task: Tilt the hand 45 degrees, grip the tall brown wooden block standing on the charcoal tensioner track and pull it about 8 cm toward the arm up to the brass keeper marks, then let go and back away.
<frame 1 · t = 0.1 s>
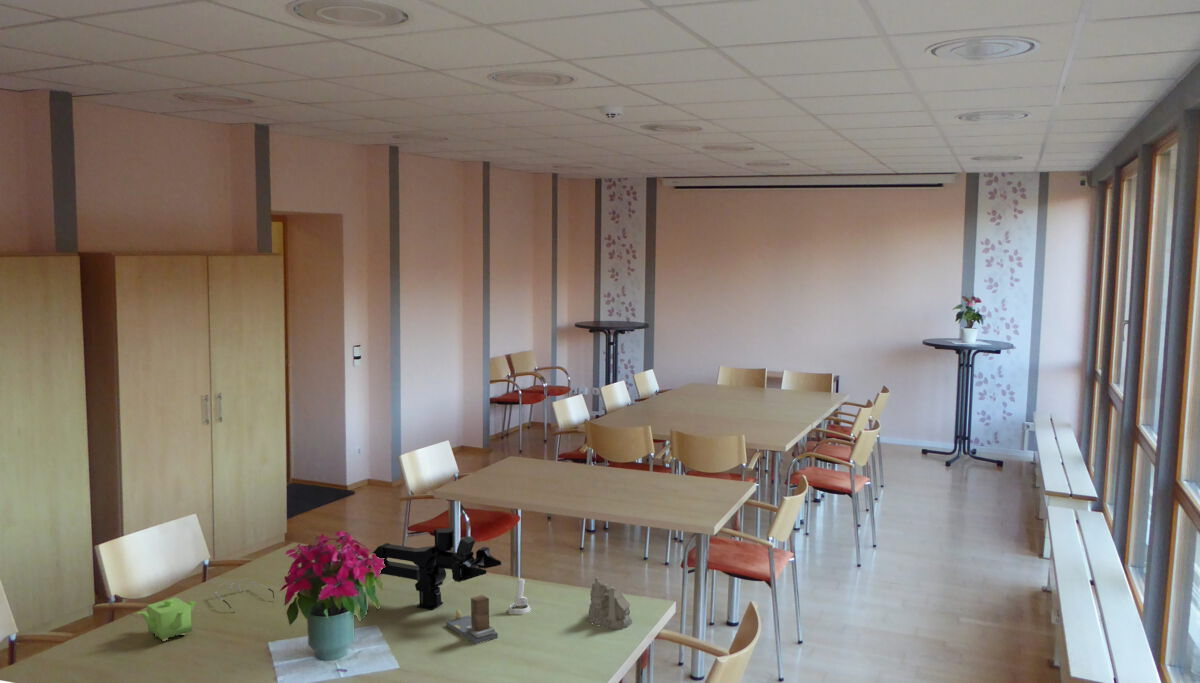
hand: (493, 567, 297), 17 cm above the table, tool horizontal, fingers open, 9 cm apart
brown wooden block: (480, 614, 282), point 7 cm above the table, slide at 0.0 cm
tensioner track: (480, 637, 283), on the table
ceramic cottage: (612, 619, 297), on the table
kettle: (168, 636, 286), on the table
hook: (519, 611, 304), on the table
eyeglasses: (244, 602, 316), on the table
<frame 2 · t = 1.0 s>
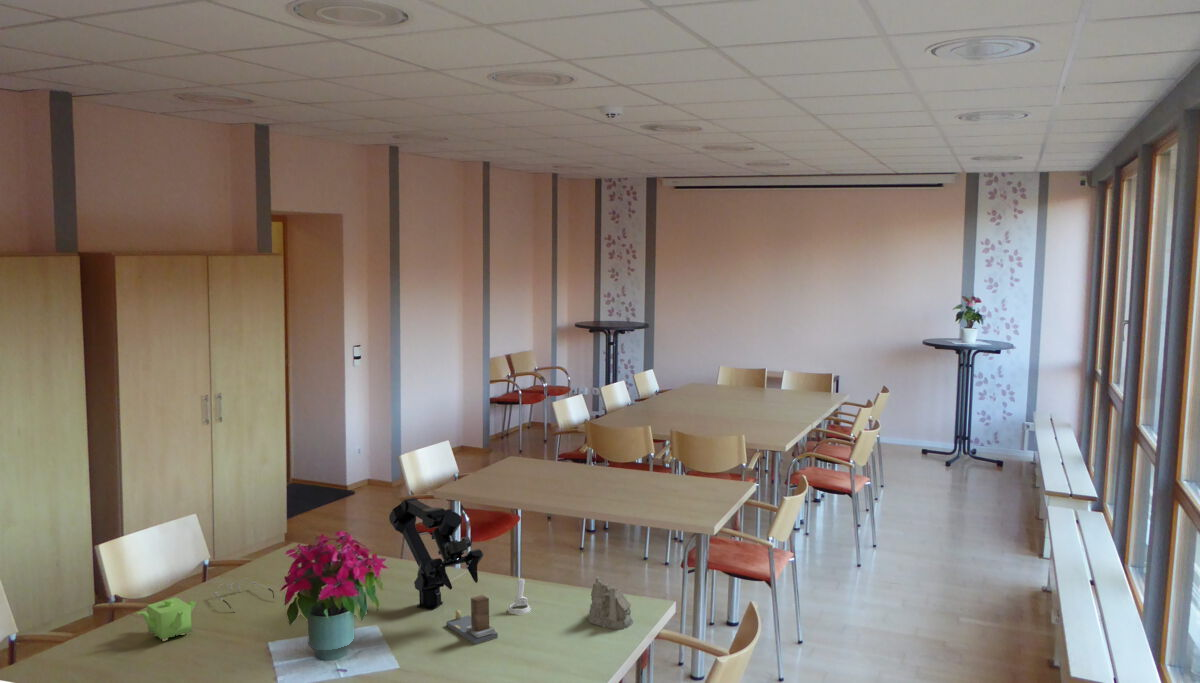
hand: (464, 585, 290), 14 cm above the table, tool tilted 45°, fingers open, 9 cm apart
nothing on the table moved.
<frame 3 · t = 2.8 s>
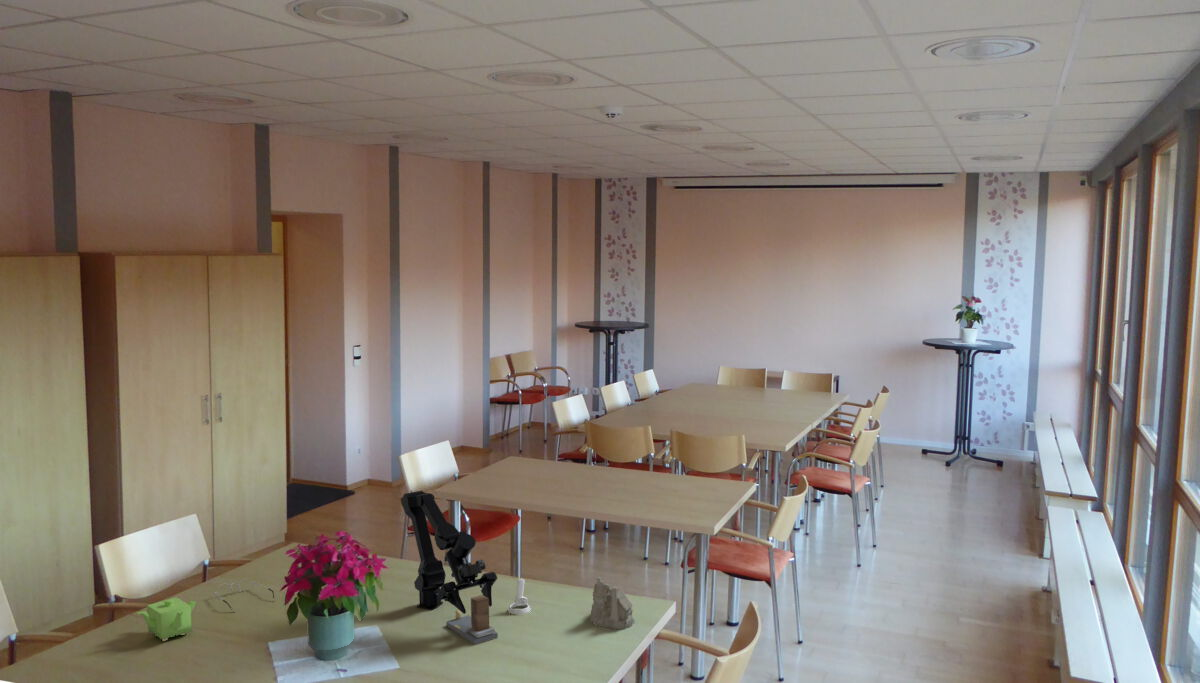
hand: (478, 609, 283), 8 cm above the table, tool tilted 45°, fingers open, 9 cm apart
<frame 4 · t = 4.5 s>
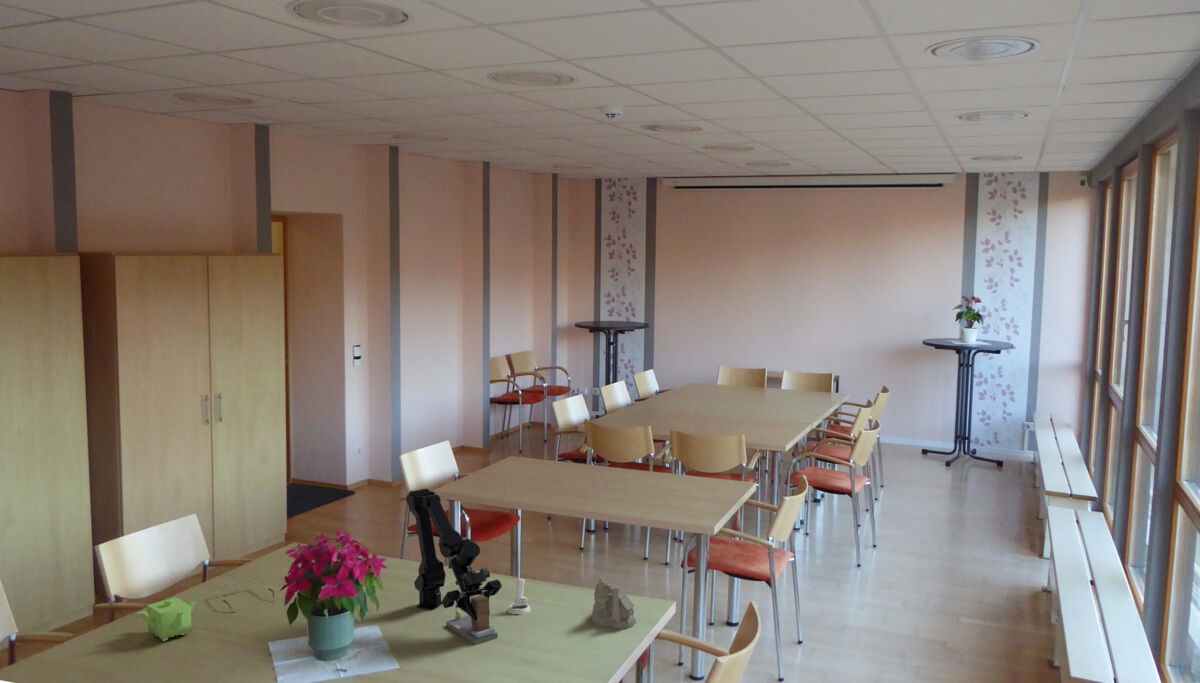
hand: (482, 618, 281), 7 cm above the table, tool tilted 45°, fingers closed on brown wooden block, 4 cm apart
brown wooden block: (480, 614, 282), point 7 cm above the table, slide at 0.0 cm, touching gripper
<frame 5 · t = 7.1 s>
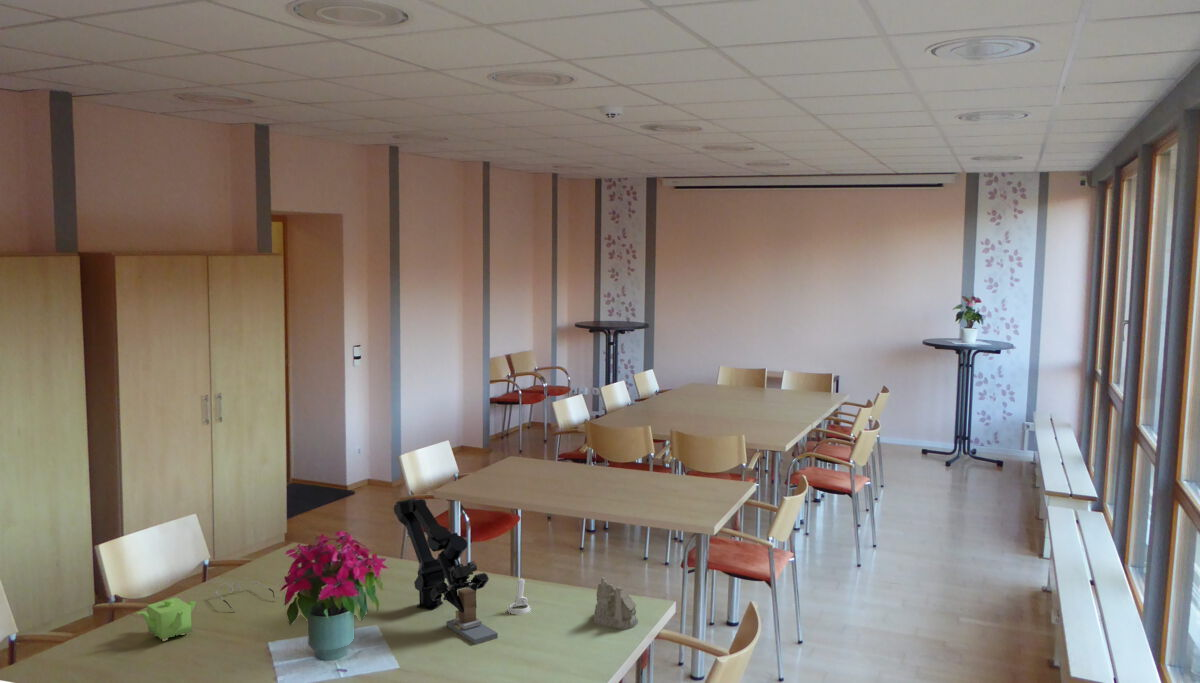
hand: (469, 610, 288), 7 cm above the table, tool tilted 45°, fingers closed on brown wooden block, 4 cm apart
brown wooden block: (467, 607, 289), point 7 cm above the table, slide at 8.0 cm, touching gripper
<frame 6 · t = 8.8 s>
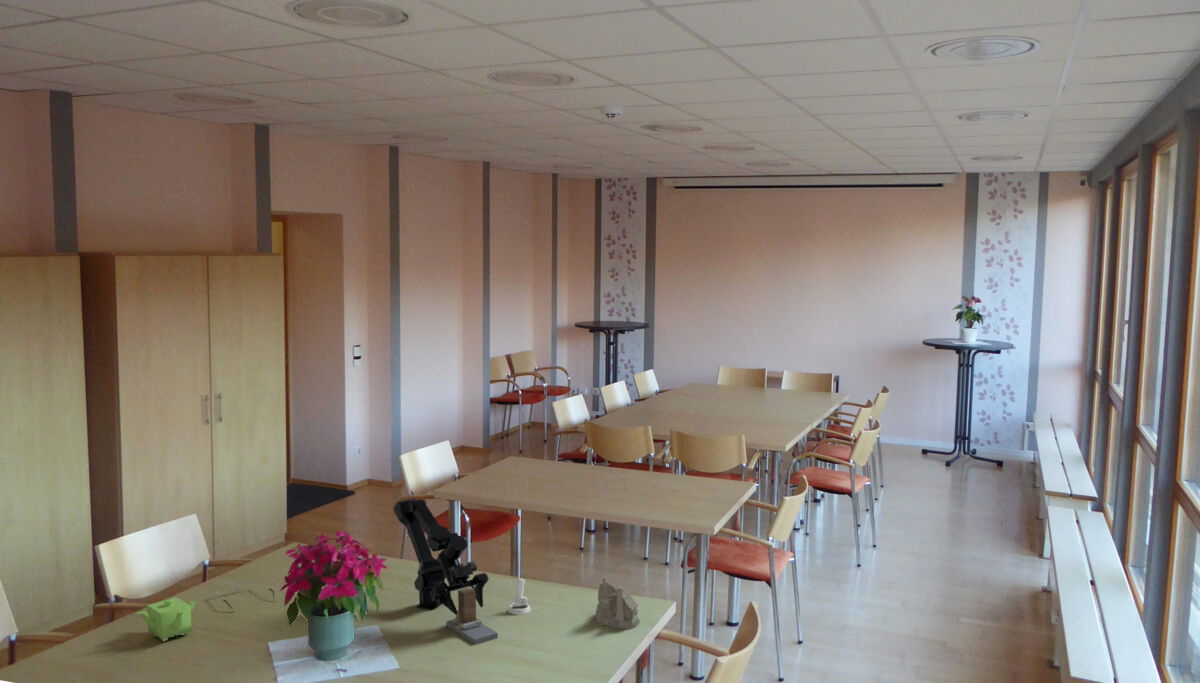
hand: (469, 610, 288), 7 cm above the table, tool tilted 45°, fingers open, 9 cm apart
brown wooden block: (467, 607, 289), point 7 cm above the table, slide at 8.0 cm
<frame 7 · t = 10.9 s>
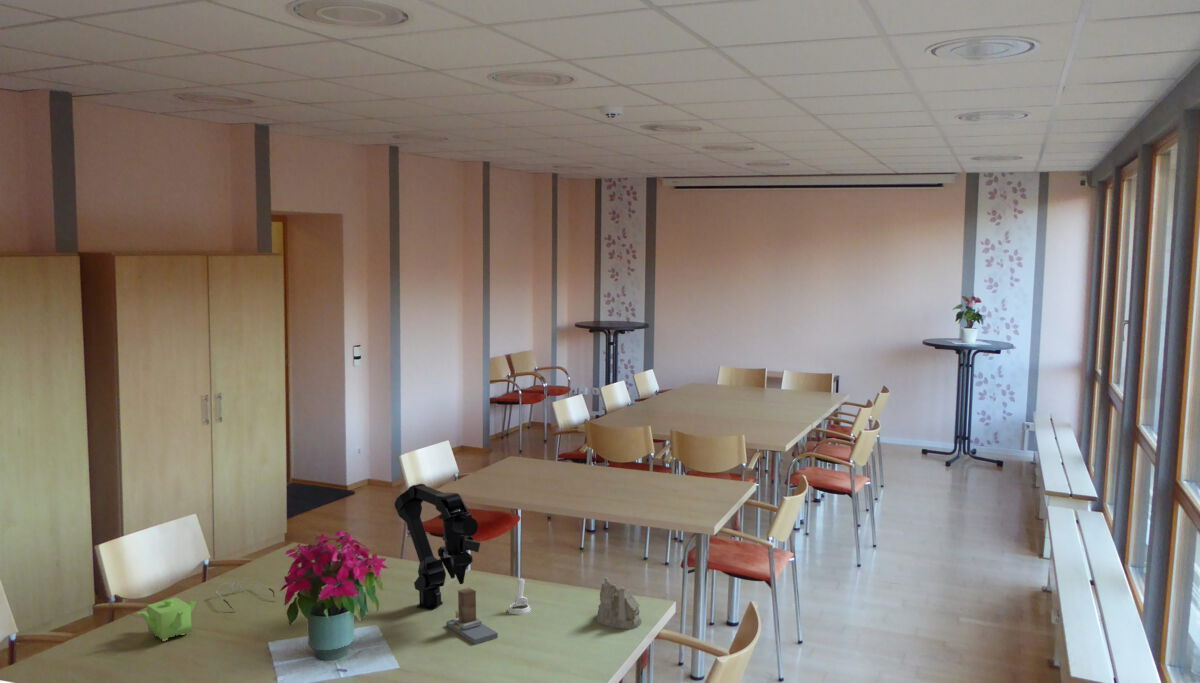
hand: (457, 581, 297), 12 cm above the table, tool pointing down, fingers open, 9 cm apart
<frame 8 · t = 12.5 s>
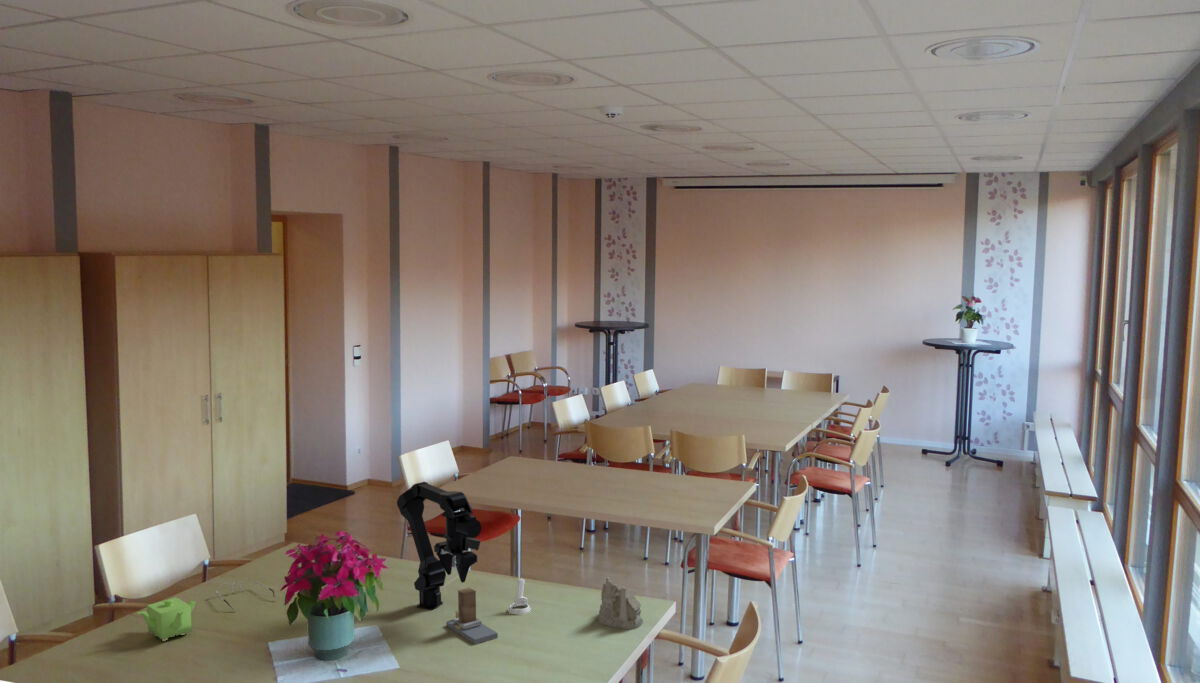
hand: (456, 578, 298), 13 cm above the table, tool pointing down, fingers open, 9 cm apart
at the end: brown wooden block slide at 8.0 cm; the gripper is holding nothing; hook moved 0.3 cm from its start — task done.
